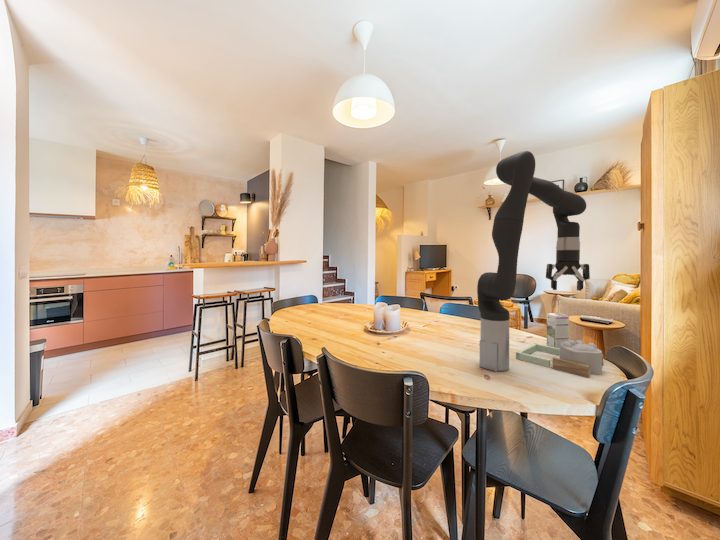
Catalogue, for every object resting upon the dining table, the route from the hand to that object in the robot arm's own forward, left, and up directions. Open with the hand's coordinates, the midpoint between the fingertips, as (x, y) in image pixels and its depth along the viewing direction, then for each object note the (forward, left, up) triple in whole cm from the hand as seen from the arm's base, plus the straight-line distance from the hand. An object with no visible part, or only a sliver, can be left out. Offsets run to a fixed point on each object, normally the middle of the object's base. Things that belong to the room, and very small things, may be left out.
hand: (566, 290), depth 113 cm
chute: (-14, -8, -25) cm, 29 cm away
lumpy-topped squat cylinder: (-14, -8, -25) cm, 30 cm away
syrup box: (+2, +4, -25) cm, 26 cm away
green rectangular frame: (-14, +4, -25) cm, 29 cm away
